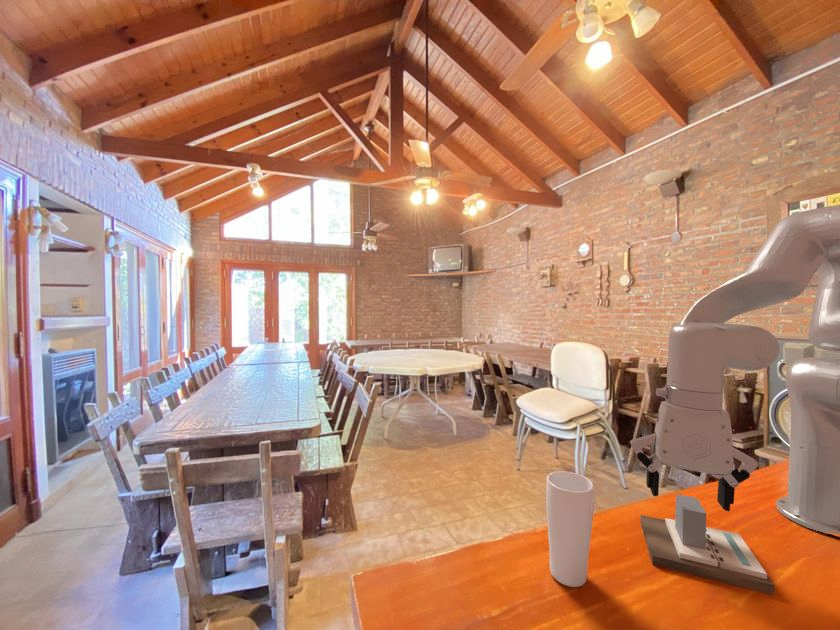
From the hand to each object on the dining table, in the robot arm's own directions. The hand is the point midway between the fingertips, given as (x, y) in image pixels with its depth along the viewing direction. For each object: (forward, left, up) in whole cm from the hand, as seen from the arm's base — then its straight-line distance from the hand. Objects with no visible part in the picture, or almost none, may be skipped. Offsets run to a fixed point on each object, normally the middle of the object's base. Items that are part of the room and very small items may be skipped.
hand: (687, 499), depth 60 cm
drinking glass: (+14, -18, -9) cm, 25 cm away
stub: (0, +1, -8) cm, 8 cm away
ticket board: (0, +2, -9) cm, 9 cm away
